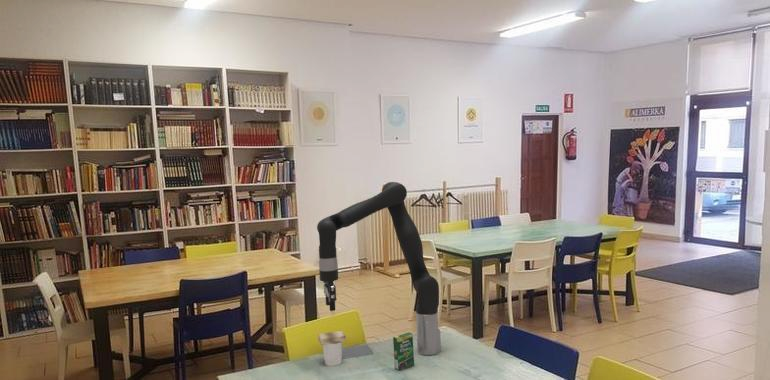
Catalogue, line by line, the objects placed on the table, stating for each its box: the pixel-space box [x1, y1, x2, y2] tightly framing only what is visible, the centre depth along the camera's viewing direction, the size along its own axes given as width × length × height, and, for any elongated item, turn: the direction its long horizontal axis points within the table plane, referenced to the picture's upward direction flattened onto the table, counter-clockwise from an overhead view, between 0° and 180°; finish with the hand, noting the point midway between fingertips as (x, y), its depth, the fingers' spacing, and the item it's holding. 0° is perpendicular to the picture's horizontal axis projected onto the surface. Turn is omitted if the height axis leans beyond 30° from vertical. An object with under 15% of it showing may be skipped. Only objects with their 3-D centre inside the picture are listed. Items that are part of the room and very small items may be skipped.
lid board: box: [317, 330, 347, 346], centre depth 199 cm, size 10×6×2 cm, turn 107°
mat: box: [342, 344, 375, 360], centre depth 210 cm, size 14×12×1 cm
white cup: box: [322, 342, 343, 367], centre depth 199 cm, size 8×8×10 cm
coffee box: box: [392, 332, 415, 372], centre depth 193 cm, size 8×3×13 cm, turn 122°
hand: (330, 307), depth 198 cm, fingers open, 8 cm apart
